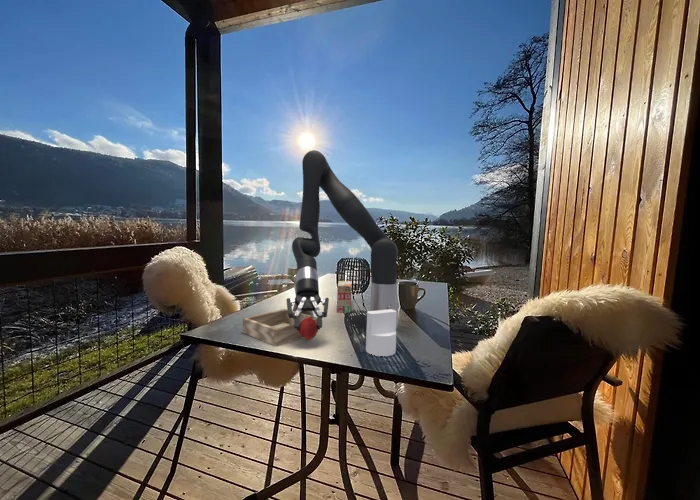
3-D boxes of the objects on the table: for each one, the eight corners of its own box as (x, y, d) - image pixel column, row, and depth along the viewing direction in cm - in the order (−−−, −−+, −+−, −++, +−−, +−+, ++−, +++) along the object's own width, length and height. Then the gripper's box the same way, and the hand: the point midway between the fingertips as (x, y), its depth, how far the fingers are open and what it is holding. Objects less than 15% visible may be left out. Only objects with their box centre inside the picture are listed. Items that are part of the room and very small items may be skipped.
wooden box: (318, 331, 107) (318, 317, 107) (275, 346, 93) (276, 330, 93) (285, 321, 119) (285, 308, 118) (242, 332, 104) (242, 318, 104)
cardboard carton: (338, 301, 154) (338, 277, 154) (350, 302, 154) (351, 278, 154) (336, 312, 133) (337, 285, 132) (351, 313, 133) (351, 285, 132)
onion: (309, 335, 98) (310, 311, 98) (321, 340, 94) (321, 315, 94) (294, 339, 94) (295, 314, 94) (305, 345, 90) (306, 319, 90)
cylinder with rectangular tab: (374, 358, 86) (375, 316, 85) (360, 347, 94) (361, 309, 93) (401, 354, 89) (402, 314, 89) (386, 343, 98) (387, 306, 97)
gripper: (285, 276, 99) (284, 323, 88) (329, 276, 102) (333, 322, 91) (285, 289, 105) (284, 335, 94) (327, 289, 107) (330, 333, 96)
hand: (308, 328), depth 92 cm, fingers closed on onion, 5 cm apart
